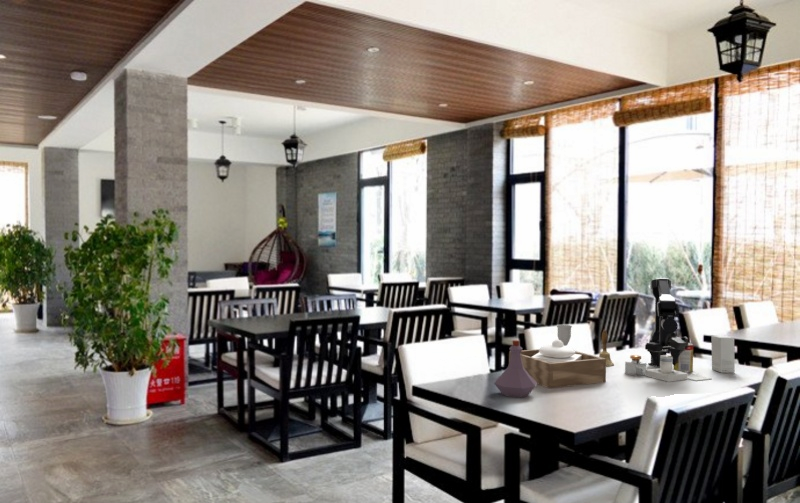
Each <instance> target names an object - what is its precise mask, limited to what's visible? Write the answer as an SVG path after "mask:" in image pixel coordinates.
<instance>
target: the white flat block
mask: <svg viewBox="0 0 800 503" xmlns="http://www.w3.org/2000/svg"><path fill="white" fill-rule="evenodd" d="M687 375H688V372H680V371H676V370H674V369H672V373H662V372H660V367H656V368H649V369H647V368H646V370H645V375H644V376H645V377H650V378H653V379H657V380H660V381H665V382H675V381H683V380H684V381H685V380H688V379H687Z"/></svg>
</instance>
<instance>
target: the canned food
mask: <svg viewBox="0 0 800 503" xmlns="http://www.w3.org/2000/svg"><path fill="white" fill-rule="evenodd" d="M672 370H676V371H680V372H684V373H692V372H694V371H693V370H694V343H691V342H688V349H685V351H683V352H682V353H680V355H679V358H678V360H677V363H676V365H675V366H674V365H673V364H672Z"/></svg>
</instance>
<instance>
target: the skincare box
mask: <svg viewBox="0 0 800 503" xmlns="http://www.w3.org/2000/svg"><path fill="white" fill-rule="evenodd" d="M710 342H711V369H712V370H713V371H716V372H719V373H722V374H726V373H727V374H733V373H735V369H736V368H735V337H733V336H729V335H725V334H724V335H723V334H719V335H711V341H710Z"/></svg>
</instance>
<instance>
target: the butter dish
mask: <svg viewBox="0 0 800 503" xmlns="http://www.w3.org/2000/svg"><path fill="white" fill-rule="evenodd" d="M538 349H539V353H537V354H535V355H534V356H532V357H533V358H536V359H539V360H543V361H546V362H550V363H555V362H566V361H577V360H581V357H582V355H580V354H575V353H576V352H575V351H576V349H574V348H573V347H571V346H568V345H566V346H564V344H563V342H562V341H561V340H559V339H555V340H553V341H552V343H551V344H548V345H547V344H546V345H543V346H541V347H539V348H538Z"/></svg>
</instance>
